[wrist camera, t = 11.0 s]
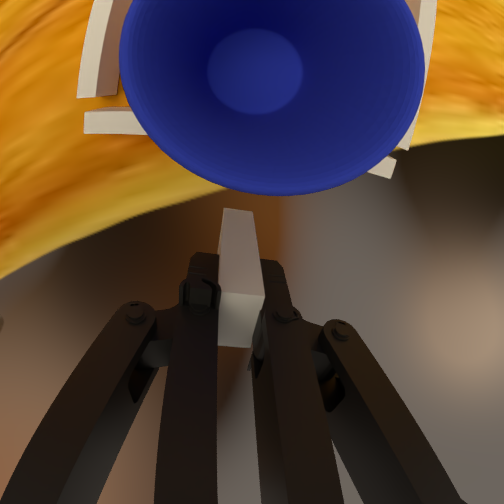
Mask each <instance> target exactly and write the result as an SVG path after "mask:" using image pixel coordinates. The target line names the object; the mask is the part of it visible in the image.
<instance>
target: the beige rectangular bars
mask: <svg viewBox="0 0 504 504" xmlns="http://www.w3.org/2000/svg"><path fill="white" fill-rule="evenodd" d="M132 1H133V0H94V3H93V7H92V11H91V14H90V18H89V23H88V27H87V32H86V36H85V41H84V47H83V52H82V58H81V65H80V72H79V80H78V89H77V98H88V97H100V96H108V95H117V88H118V80H119V73H120V69H119V43H120V37H121V31H122V27H123V23H124V20H125V17H126V14H127V12H128V9H129V7H130V5H131V3H132ZM405 2H406V3H407V5H408V7H409V8H410V10H411V12H412V14H413V17H414V19H415V21H416V24H417V27H418V29H419V33H420V36H421V40H422V44H423V50H424V57H425V79H424V87H425V82H426V77H427V72H428V67H429V61H430V55H431V49H432V42H433V35H434V27H435V17H436V5H437V0H405ZM424 87H423V92H424ZM422 96H423V93H422ZM421 101H422V97H421ZM421 101H420V104H419V107H418V110H417V112H416V115H415V117H414V120H413V122H412V123H411V125H410V127H409V129H408V131H407V132H406V134H405V135H404V137H403V138H402V140H401V141H400V142H399V143H398V145H397V146H398V147H400V148H403V149H405V150H408V149H409V146H410V142H411V139H412V135H413V132H414V128H415V124H416V121H417V117H418V113H419V109H420V105H421ZM84 134H137V135H147V133H146V132H145V131H144V129H143V128H142V127H141V125H140V123H139V122H138V120H137V118H136V117H135V115H134V113H133V111H132V109H131V107H105V108H100V109H96V110H91V111H87V112H85V116H84ZM395 163H396V160H395V159H394V158H391V157H390V156H386V157H385V158H384V159H383V160H382V161H381V162H380V163H378V164H377V165H376V166H374V167H373V168H372V169H370V170H369V171H367V172H369V173H372V174H376V175H379V176H383V177H386V178H389V179H390V178H391V176H392V173H393V169H394V167H395Z"/></svg>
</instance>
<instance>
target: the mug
mask: <svg viewBox="0 0 504 504" xmlns="http://www.w3.org/2000/svg"><path fill="white" fill-rule="evenodd" d="M119 69H120V75H121V81H122V85H123V88H124V91H125V95H126V98H127V100H128V103H129V105H130V107H131V109H132V111H133V113H134V115H135V117H136V118H137V120H138V122H139V123H140V125H141V127H142V128H143V129H144V131H145V132H146V133H147V135H148V136H149V137H150V138H151V139H152V140H153V141H154V142H155V144H156V145H157V146H158V147H159V148H160V149H161V150H162V151H163V152H165V153H166V154H167V155H168V156H169V157H170V158H172V159H173V160H174V161H176V162H177V163H178V164H180V165H181V166H183V167H184V168H186V169H187V170H189V171H191V172H192V173H194V174H196V175H198V176H200V177H202V178H204V179H206V180H208V181H210V182H212V183H215V184H218V185H221V186H223V187H226V188H230V189H233V190H237V191H241V192H246V193H251V194H257V195H267V196H293V195H304V194H310V193H315V192H320V191H323V190H327V189H331V188H334V187H337V186H340V185H342V184H344V183H346V182H349V181H351V180H353V179H355V178H357V177H358V176H360V175H362V174H364V173H366V172H367V171H369V170H370V169H372V168H373V167H374V166H376V165H377V164H378V163H380V162H381V161H382V160H383V159H384V158H385V157H386V156H388V154H389V153H390V152H391V151H392V150H393V149H394V148H395V147H396V146H397V145H398V143H399V142H400V141H401V140H402V138H403V137H404V135H405V134H406V132H407V131H408V129H409V127H410V125H411V123H412V122H413V120H414V117H415V115H416V112H417V110H418V107H419V104H420V101H421V97H422V93H423V87H424V79H425V57H424V50H423V44H422V40H421V36H420V33H419V29H418V27H417V24H416V21H415V19H414V17H413V14H412V12H411V10H410V8H409V7H408V5H407V3H406V2H405V0H133V1H132V3H131V5H130V7H129V9H128V12H127V14H126V17H125V20H124V23H123V27H122V31H121V37H120V43H119Z"/></svg>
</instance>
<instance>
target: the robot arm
mask: <svg viewBox="0 0 504 504" xmlns="http://www.w3.org/2000/svg"><path fill="white" fill-rule="evenodd" d="M286 283H287V282H286V278H285V274H284V270H283V267H282V266H281V265H280V264H279V263H278V262H277V261H274V260H265V259H260V258H259V251H258V244H257V238H256V231H255V224H254V217H253V212H252V211H245V210H237V209H231V208H224V211H223V218H222V225H221V231H220V239H219V245H218V254H210V253H202V252H196V253H195V254H194V255H193V256H192V257H191V259H190V263H189V268H188V274H187V278H186V279H185V280H183V281H182V282H181V284H180V286H179V304H177V305H176V306H174V307H172V308H170V309H166V310H158V311H155V310H154V309H153V308H152V307H151V306H150V305H148V304H146V303H144V302H139V301H133V302H128V303H126V304H123V305H122V306H121V307H120V308H119V309H118V310H117V311H116V312H115V314H114V315H113V316H112V318H111V319H110V320H109V322H108V323H107V324H106V326H105V327H104V328H103V330H102V331H101V333H100V334H99V335H98V337H97V338H96V340H95V341H94V342H93V344H92V345H91V346H90V348H89V349H88V351H87V352H86V354H85V355H84V356H83V358H82V359H81V361H80V362H79V363H78V365H77V366H76V368H75V369H74V371H73V372H72V374H71V375H70V377H69V378H68V380H67V381H66V383H65V384H64V386H63V388H62V389H61V390H60V392H59V394H58V395H57V397H56V398H55V400H54V402H53V403H52V405H51V406H50V408H49V409H48V411H47V413H46V414H45V416H44V418H43V419H42V421H41V423H40V425H39V426H38V428H37V430H36V431H35V433H34V435H33V437H32V438H31V440H30V442H29V444H28V446H27V447H26V449H25V451H24V453H23V455H22V457H21V459H20V460H19V462H18V464H17V466H16V468H15V470H14V472H13V475H12V476H11V478H10V481H9V483H8V485H7V487H6V489H5V491H4V493H3V496H2V498H1V500H0V504H96V503H97V501H98V499H99V496H100V494H101V492H102V489H103V487H104V485H105V482H106V480H107V478H108V476H109V473H110V471H111V469H112V467H113V464H114V462H115V460H116V458H117V455H118V453H119V451H120V449H121V446H122V445H123V442H124V440H125V438H126V436H127V434H128V432H129V429H130V427H131V425H132V423H133V421H134V419H135V417H136V415H137V413H138V411H139V408H140V406H141V404H142V402H143V400H144V398H145V396H146V394H147V392H148V390H149V388H150V386H151V384H152V381H153V379H154V377H155V376H156V374H157V372H158V370H159V367H162V366H168V371H167V378H166V385H165V392H164V399H163V407H162V416H161V423H160V432H159V442H158V452H157V464H156V476H155V477H156V478H155V493H154V504H218V498H217V497H218V496H217V442H216V441H217V439H216V438H217V435H216V434H217V427H216V426H217V425H216V424H217V419H216V418H217V417H216V416H217V411H216V410H217V409H216V408H217V353H218V352H217V351H218V345H220V346H231V347H244V348H250V347H251V343H252V341H253V352H252V355H251V358H250V361H249V365H248V369H247V370H250V369H251V371H252V385H253V399H254V413H255V427H256V440H257V453H258V465H259V479H260V491H261V503H262V504H344V500H343V495H342V490H341V485H340V479H339V474H338V470H337V464H336V459H335V454H334V450H333V445H332V441H333V443H334V445H335V447H336V449H337V451H338V453H339V455H340V457H341V459H342V461H343V463H344V465H345V467H346V469H347V471H348V473H349V475H350V477H351V479H352V481H353V483H354V485H355V487H356V489H357V491H358V493H359V495H360V497H361V499H362V501H363V503H364V504H467V503H466V502H464V501H463V500H462V499H461V498H460V496H459V495H458V493H457V491H456V489H455V487H454V485H453V484H452V482H451V480H450V478H449V477H448V475H447V473H446V471H445V469H444V468H443V466H442V464H441V462H440V461H439V460H438V457H437V456H436V454H435V452H434V451H433V449H432V447H431V445H430V444H429V442H428V441H427V439H426V437H425V436H424V434H423V432H422V431H421V429H420V427H419V426H418V424H417V423H416V421H415V419H414V418H413V416H412V414H411V413H410V411H409V410H408V408H407V407H406V405H405V403H404V402H403V400H402V399H401V397H400V396H399V394H398V393H397V391H396V389H395V388H394V386H393V385H392V384H391V382H390V380H389V379H388V377H387V376H386V374H385V373H384V371H383V370H382V368H381V367H380V365H379V364H378V362H377V361H376V359H375V358H374V356H373V355H372V353H371V352H370V350H369V349H368V347H367V346H366V344H365V343H364V342H363V340H362V339H361V337H360V336H359V334H358V333H357V331H356V330H355V329H354V328H353V327H352V326H351V325H350V324H348V323H346V322H345V321H342V320H339V319H338V320H337V319H333V320H330V321H327V322H326V324H325V325H324V326H320V325H317V324H313V323H310V322H307V321H305V320H304V319H302V316H301V314H300V312H299V311H298V310H297V309H296V308H295V307H293V306H292V302H291V298H290V294H289V290H288V286H287V284H286ZM331 439H332V440H331Z"/></svg>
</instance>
